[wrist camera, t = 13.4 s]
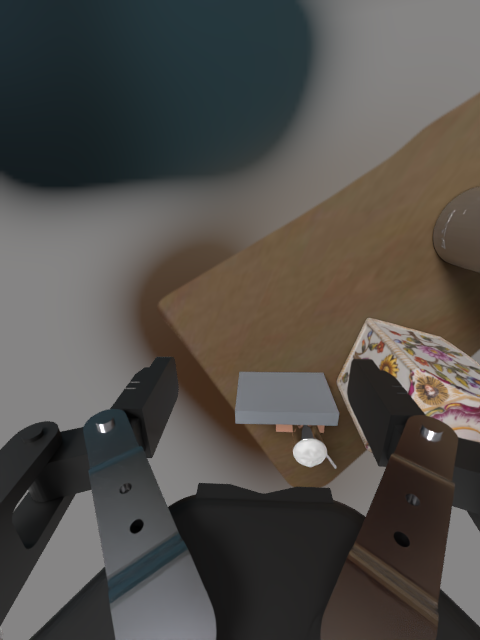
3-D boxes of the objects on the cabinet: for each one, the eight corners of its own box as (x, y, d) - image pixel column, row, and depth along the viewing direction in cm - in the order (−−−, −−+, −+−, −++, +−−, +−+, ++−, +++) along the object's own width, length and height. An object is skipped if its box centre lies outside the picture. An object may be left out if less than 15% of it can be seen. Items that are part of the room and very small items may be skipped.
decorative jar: (332, 381, 43) (380, 491, 26) (364, 314, 38) (445, 397, 22) (404, 399, 44) (494, 519, 27) (443, 336, 39) (581, 432, 22)
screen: (323, 372, 42) (339, 413, 34) (322, 383, 43) (337, 425, 35) (239, 371, 43) (235, 411, 35) (239, 382, 44) (235, 423, 36)
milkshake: (316, 424, 46) (331, 480, 36) (284, 420, 46) (291, 474, 36) (323, 403, 44) (340, 455, 35) (290, 398, 44) (299, 449, 35)
